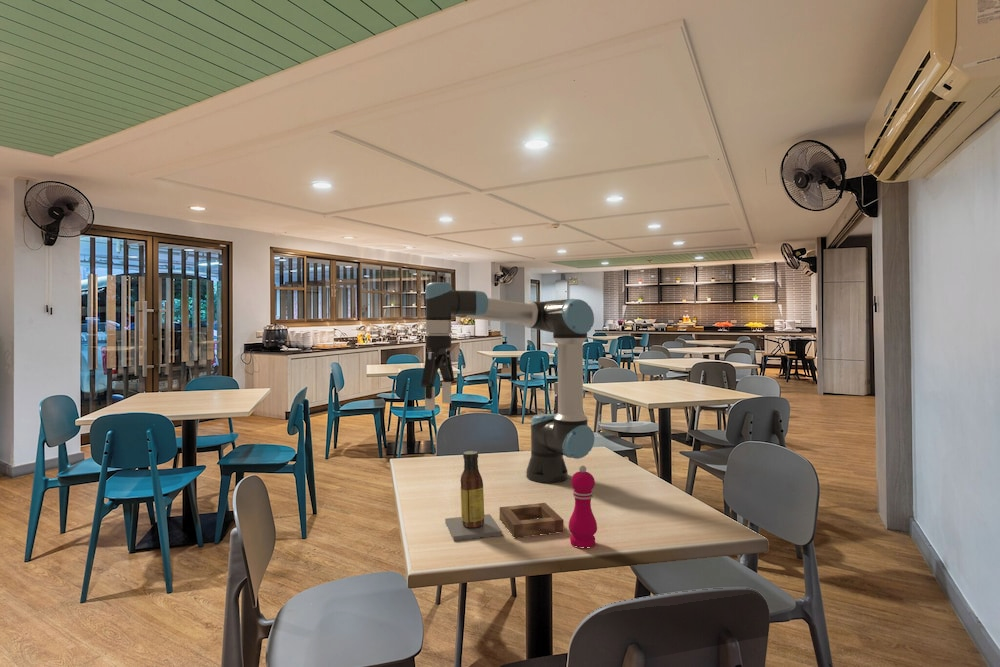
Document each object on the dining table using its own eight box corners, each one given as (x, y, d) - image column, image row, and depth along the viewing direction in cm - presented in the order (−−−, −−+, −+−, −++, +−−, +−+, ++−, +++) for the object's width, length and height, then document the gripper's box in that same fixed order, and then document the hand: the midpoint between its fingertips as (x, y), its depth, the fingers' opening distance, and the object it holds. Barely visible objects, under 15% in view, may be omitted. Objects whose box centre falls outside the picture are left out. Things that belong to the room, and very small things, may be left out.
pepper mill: (596, 550, 130) (597, 470, 130) (567, 548, 131) (567, 468, 131) (597, 539, 137) (597, 462, 137) (569, 537, 138) (569, 461, 138)
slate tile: (489, 518, 152) (489, 514, 152) (501, 535, 139) (501, 531, 139) (445, 522, 148) (445, 518, 148) (453, 540, 136) (453, 536, 136)
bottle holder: (545, 514, 155) (545, 502, 155) (563, 532, 141) (563, 519, 141) (499, 519, 151) (499, 507, 151) (513, 538, 138) (513, 524, 138)
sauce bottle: (487, 522, 146) (487, 450, 145) (479, 530, 140) (479, 455, 140) (465, 519, 148) (465, 448, 148) (456, 527, 142) (456, 454, 142)
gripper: (441, 334, 169) (441, 400, 169) (409, 335, 145) (409, 412, 145) (463, 334, 167) (464, 400, 167) (434, 335, 143) (434, 413, 143)
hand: (438, 406), depth 156 cm, fingers open, 13 cm apart
